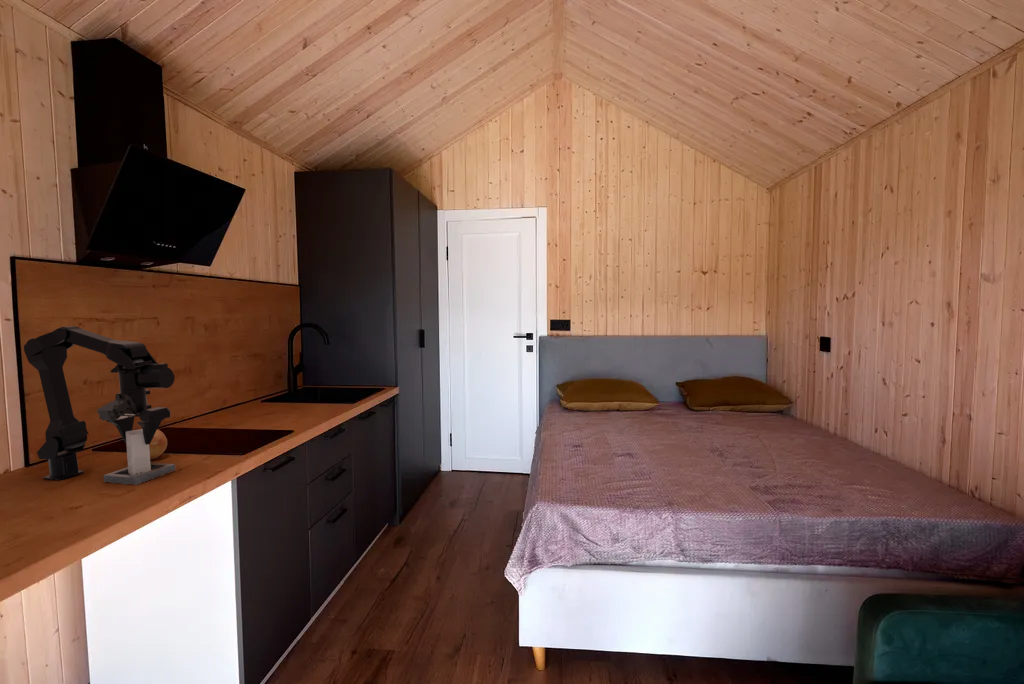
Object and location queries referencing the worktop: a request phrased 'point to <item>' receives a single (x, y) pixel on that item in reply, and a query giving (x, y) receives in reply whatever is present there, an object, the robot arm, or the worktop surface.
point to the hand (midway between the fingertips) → (137, 443)
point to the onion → (157, 444)
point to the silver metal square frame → (126, 478)
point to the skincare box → (137, 453)
